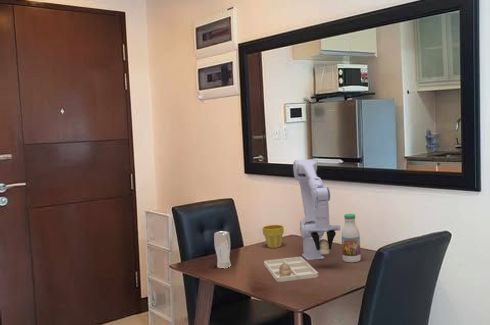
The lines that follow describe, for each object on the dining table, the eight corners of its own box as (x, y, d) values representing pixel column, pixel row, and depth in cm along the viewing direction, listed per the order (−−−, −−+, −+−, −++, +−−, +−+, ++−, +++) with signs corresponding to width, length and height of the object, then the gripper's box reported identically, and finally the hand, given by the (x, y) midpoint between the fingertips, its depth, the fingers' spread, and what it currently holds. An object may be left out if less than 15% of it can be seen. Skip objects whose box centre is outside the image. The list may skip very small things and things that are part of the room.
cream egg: (317, 251, 215) (316, 238, 214) (327, 250, 216) (326, 237, 215) (320, 254, 211) (319, 241, 210) (330, 253, 211) (330, 240, 211)
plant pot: (261, 245, 258) (259, 225, 257) (280, 242, 260) (279, 223, 259) (266, 250, 248) (265, 230, 247) (287, 247, 250) (286, 227, 249)
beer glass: (234, 264, 228) (231, 231, 227) (228, 269, 221) (226, 234, 220) (219, 263, 230) (217, 230, 229) (213, 268, 224) (211, 234, 222)
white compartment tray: (264, 265, 223) (263, 260, 223) (301, 261, 226) (301, 256, 226) (277, 283, 199) (277, 278, 199) (318, 278, 202) (318, 273, 201)
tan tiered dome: (278, 276, 206) (277, 262, 205) (289, 275, 206) (288, 261, 206) (281, 279, 201) (280, 265, 201) (292, 278, 202) (291, 264, 201)
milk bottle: (340, 258, 226) (338, 213, 225) (357, 257, 227) (355, 212, 225) (345, 263, 219) (343, 217, 217) (363, 261, 219) (361, 215, 218)
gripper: (307, 220, 207) (309, 253, 208) (342, 216, 209) (343, 249, 210) (302, 217, 213) (304, 249, 215) (336, 213, 216) (337, 245, 217)
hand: (323, 249), depth 213 cm, fingers closed on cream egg, 4 cm apart
